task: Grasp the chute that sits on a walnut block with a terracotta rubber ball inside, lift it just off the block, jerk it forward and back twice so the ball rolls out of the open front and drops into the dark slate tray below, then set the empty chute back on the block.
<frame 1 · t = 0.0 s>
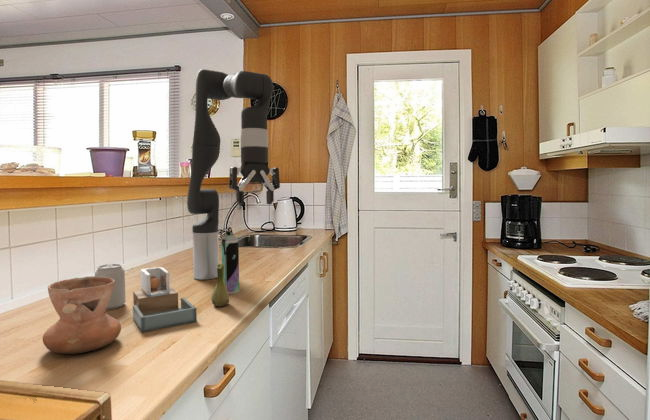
hand: (255, 204, 111), 29 cm above the counter, tool pointing down, fingers open, 8 cm apart
chute: (155, 291, 111), point 5 cm above the counter, touching ball, stand
ball: (154, 288, 112), point 6 cm above the counter, touching chute
can: (111, 307, 115), on the counter
fennel bulb: (220, 306, 115), on the counter
stand: (155, 309, 111), on the counter
tray: (164, 319, 103), on the counter
spray can: (230, 292, 129), on the counter
ceramic jug: (85, 346, 87), on the counter
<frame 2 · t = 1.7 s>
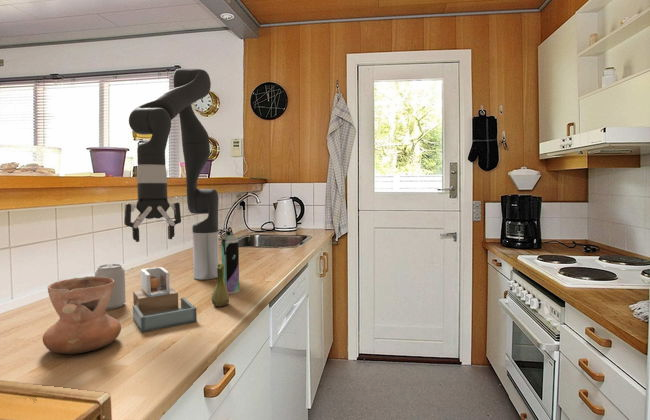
hand: (154, 240, 110), 20 cm above the counter, tool pointing down, fingers open, 8 cm apart
nothing on the counter moved.
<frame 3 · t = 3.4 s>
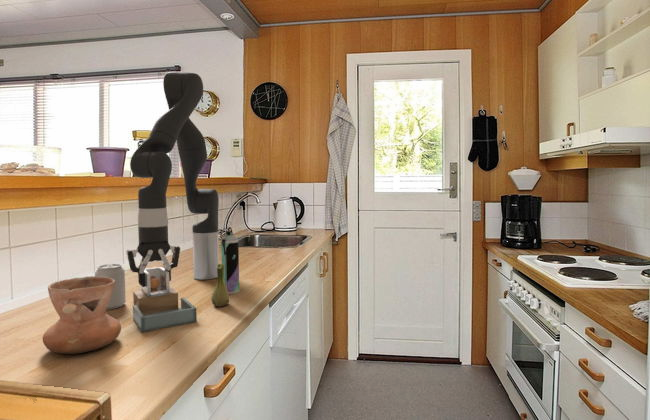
hand: (155, 284, 111), 7 cm above the counter, tool pointing down, fingers closed on chute, 5 cm apart
chute: (155, 291, 111), point 5 cm above the counter, touching ball, gripper, stand
everything else where it was.
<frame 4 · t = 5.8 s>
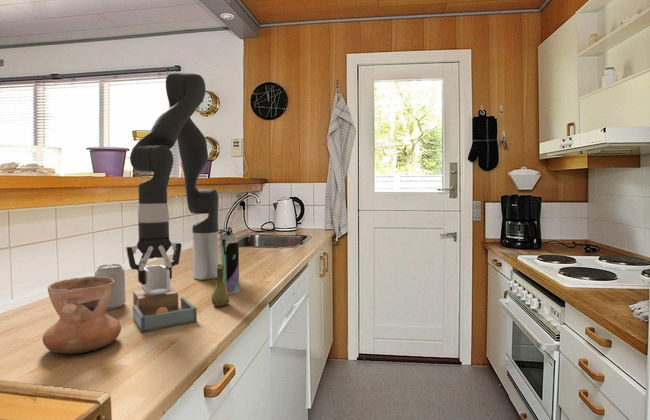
hand: (155, 282, 107), 9 cm above the counter, tool pointing down, fingers closed on chute, 5 cm apart
chute: (155, 290, 107), point 6 cm above the counter, touching gripper
ball: (163, 310, 103), point 2 cm above the counter, tilted 100°, touching tray
everything else where it was.
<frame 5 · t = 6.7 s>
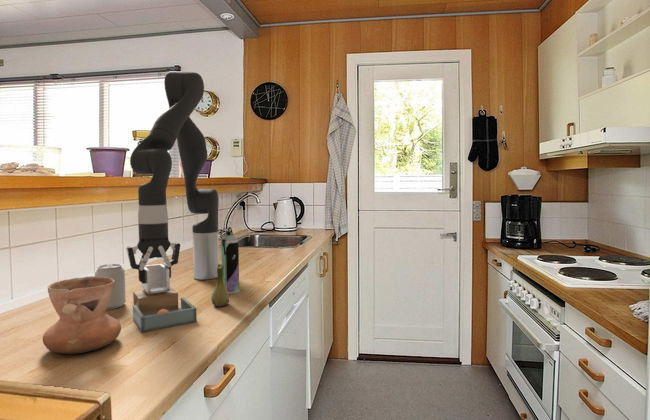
hand: (155, 281, 111), 8 cm above the counter, tool pointing down, fingers closed on chute, 5 cm apart
chute: (155, 288, 111), point 6 cm above the counter, touching gripper
ball: (165, 309, 100), point 4 cm above the counter, tilted 161°, touching tray
everything else where it was.
when the fingers open (7 cm above the counter, at t = 8.2 s): chute stays where it is, resting on stand.
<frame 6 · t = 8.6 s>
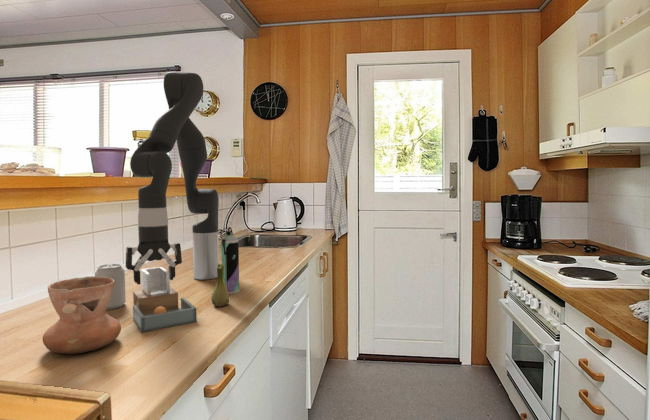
hand: (155, 281, 111), 8 cm above the counter, tool pointing down, fingers open, 8 cm apart
chute: (155, 291, 111), point 5 cm above the counter, touching stand
ball: (160, 311, 104), point 2 cm above the counter, tilted 78°, touching tray
everything else where it was.
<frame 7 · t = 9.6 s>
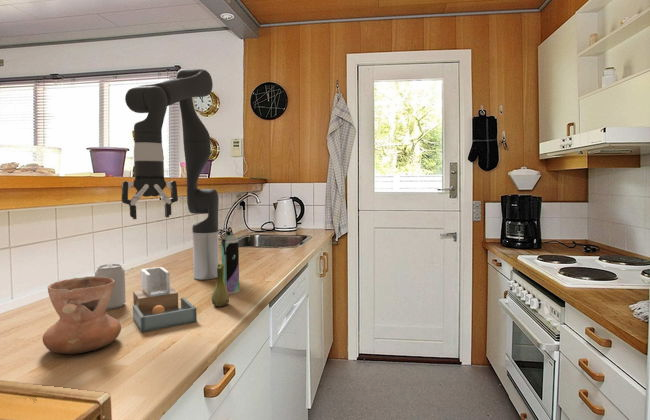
hand: (151, 218, 112), 26 cm above the counter, tool pointing down, fingers open, 8 cm apart
ball: (160, 315, 104), point 1 cm above the counter, tilted 28°, touching tray
everything else where it was.
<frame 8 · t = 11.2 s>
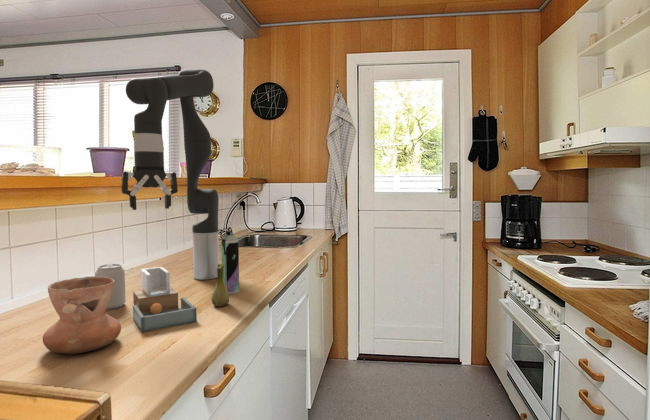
hand: (150, 209, 112), 28 cm above the counter, tool pointing down, fingers open, 8 cm apart
ball: (159, 311, 105), point 2 cm above the counter, tilted 70°, touching tray
everything else where it was.
at the end: ball inside the target area on the tray (2.6 cm from its centre), point 1.6 cm above the tray's base; ball touching tray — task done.
